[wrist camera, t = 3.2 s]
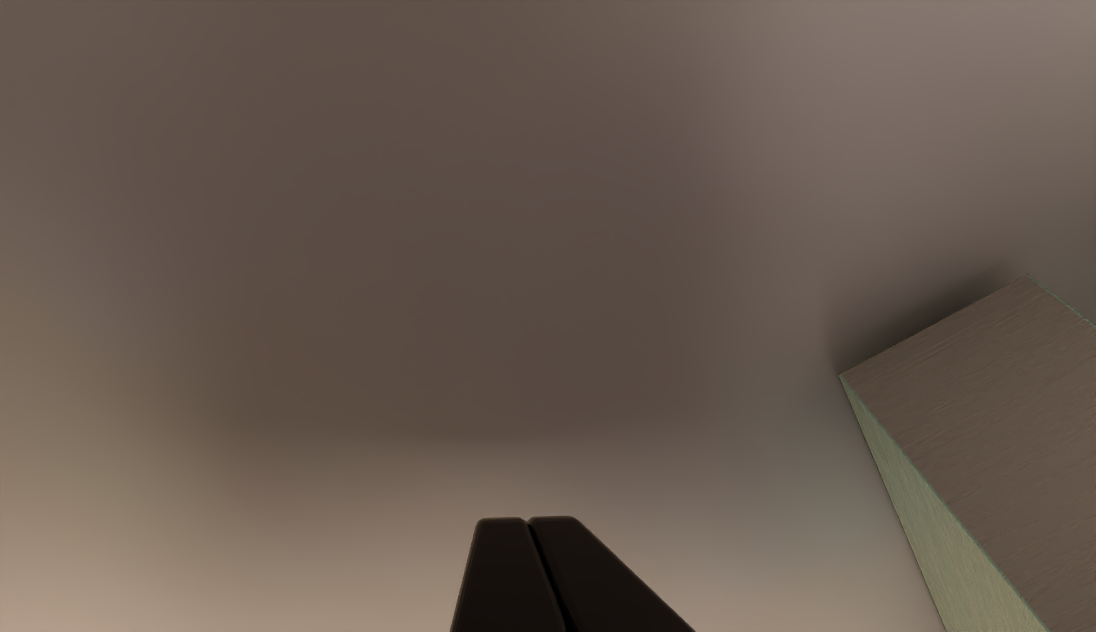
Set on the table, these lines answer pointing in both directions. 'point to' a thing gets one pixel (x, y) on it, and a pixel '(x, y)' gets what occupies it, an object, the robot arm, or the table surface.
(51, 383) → the table surface
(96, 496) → the table surface
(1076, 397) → the bar
